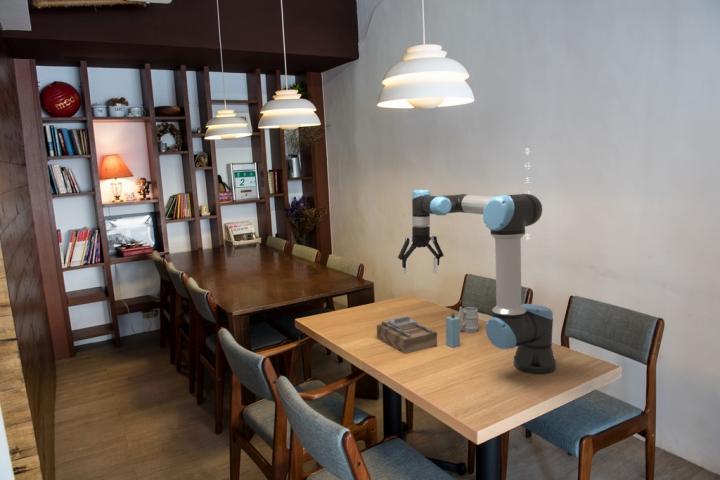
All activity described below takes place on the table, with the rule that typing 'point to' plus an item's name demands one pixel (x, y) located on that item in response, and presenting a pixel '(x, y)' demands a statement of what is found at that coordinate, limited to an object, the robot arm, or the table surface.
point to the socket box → (407, 337)
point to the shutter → (403, 323)
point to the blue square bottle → (452, 331)
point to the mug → (469, 319)
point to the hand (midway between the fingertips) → (420, 273)
